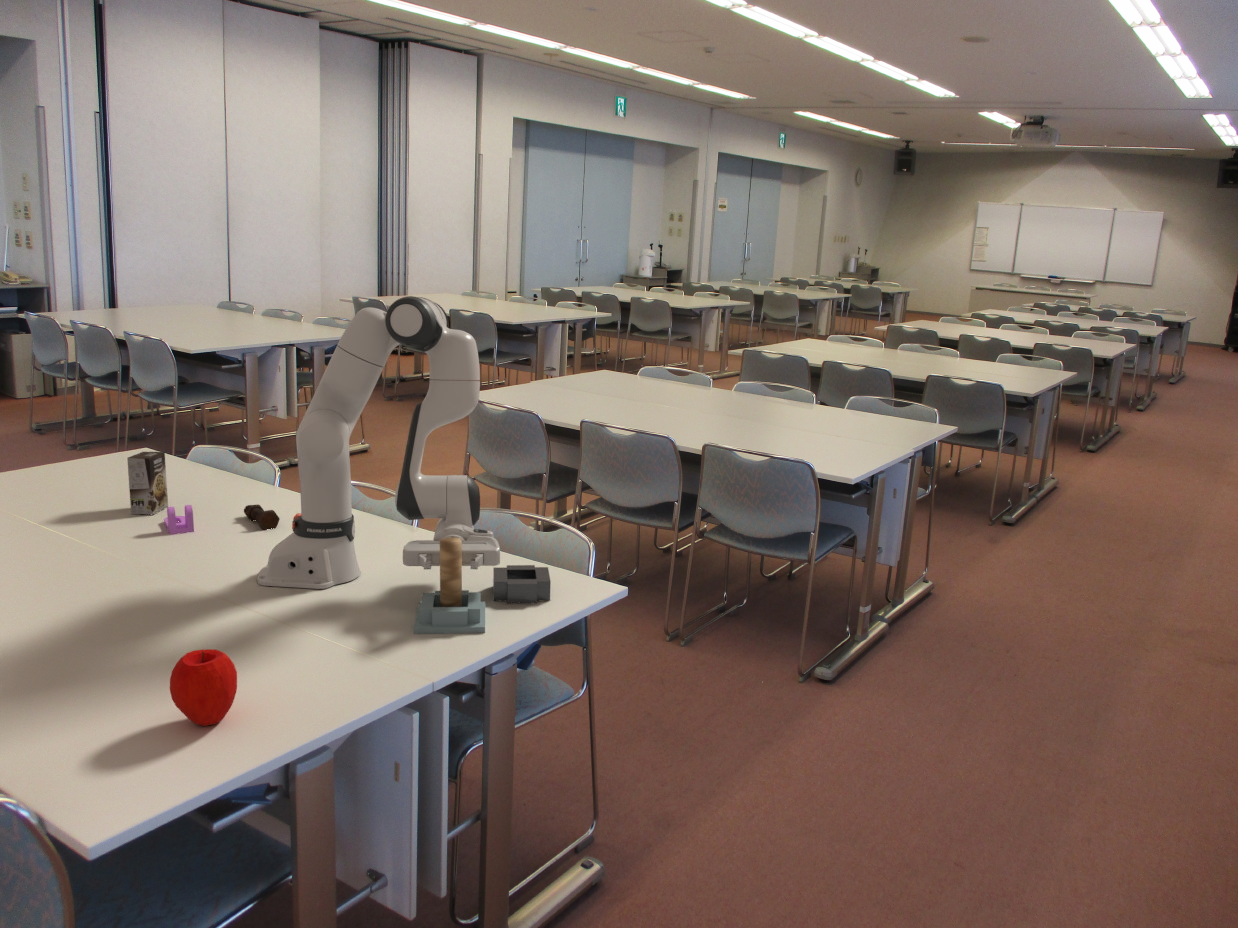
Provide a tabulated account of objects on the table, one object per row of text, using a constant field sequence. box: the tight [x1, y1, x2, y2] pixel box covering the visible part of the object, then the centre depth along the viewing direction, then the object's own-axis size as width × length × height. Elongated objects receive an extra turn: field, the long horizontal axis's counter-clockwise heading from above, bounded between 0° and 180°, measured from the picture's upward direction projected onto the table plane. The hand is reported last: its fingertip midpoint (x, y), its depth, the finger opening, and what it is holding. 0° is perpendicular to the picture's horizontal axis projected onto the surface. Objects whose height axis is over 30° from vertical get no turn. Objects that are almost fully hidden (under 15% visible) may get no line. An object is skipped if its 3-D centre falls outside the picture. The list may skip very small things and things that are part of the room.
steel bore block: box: [492, 564, 552, 605], centre depth 212 cm, size 12×12×4 cm
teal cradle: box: [413, 589, 486, 635], centre depth 195 cm, size 14×14×4 cm
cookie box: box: [127, 451, 169, 516], centre depth 262 cm, size 9×6×16 cm
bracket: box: [163, 504, 195, 535], centre depth 250 cm, size 13×6×7 cm, turn 33°
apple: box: [169, 648, 238, 727], centre depth 150 cm, size 10×10×12 cm
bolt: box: [243, 503, 280, 531], centre depth 256 cm, size 6×5×15 cm
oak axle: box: [439, 537, 463, 607], centre depth 194 cm, size 4×4×16 cm
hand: (450, 565), depth 192 cm, fingers open, 8 cm apart
